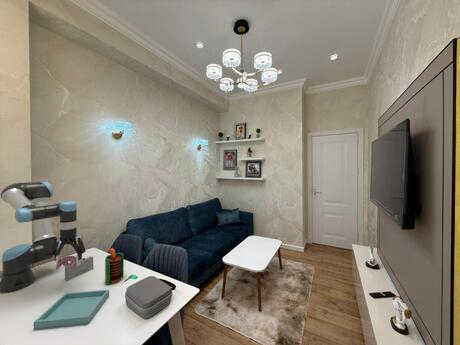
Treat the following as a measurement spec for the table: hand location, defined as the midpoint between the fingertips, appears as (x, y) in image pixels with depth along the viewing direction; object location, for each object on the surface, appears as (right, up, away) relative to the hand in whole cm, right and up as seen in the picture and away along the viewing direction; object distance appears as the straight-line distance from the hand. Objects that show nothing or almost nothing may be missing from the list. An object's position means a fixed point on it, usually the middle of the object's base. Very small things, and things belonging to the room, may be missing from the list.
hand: (68, 265), depth 112 cm
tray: (+18, -15, -17) cm, 28 cm away
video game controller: (0, -1, -1) cm, 1 cm away
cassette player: (-6, -14, +16) cm, 23 cm away
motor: (+21, -14, +9) cm, 27 cm away
